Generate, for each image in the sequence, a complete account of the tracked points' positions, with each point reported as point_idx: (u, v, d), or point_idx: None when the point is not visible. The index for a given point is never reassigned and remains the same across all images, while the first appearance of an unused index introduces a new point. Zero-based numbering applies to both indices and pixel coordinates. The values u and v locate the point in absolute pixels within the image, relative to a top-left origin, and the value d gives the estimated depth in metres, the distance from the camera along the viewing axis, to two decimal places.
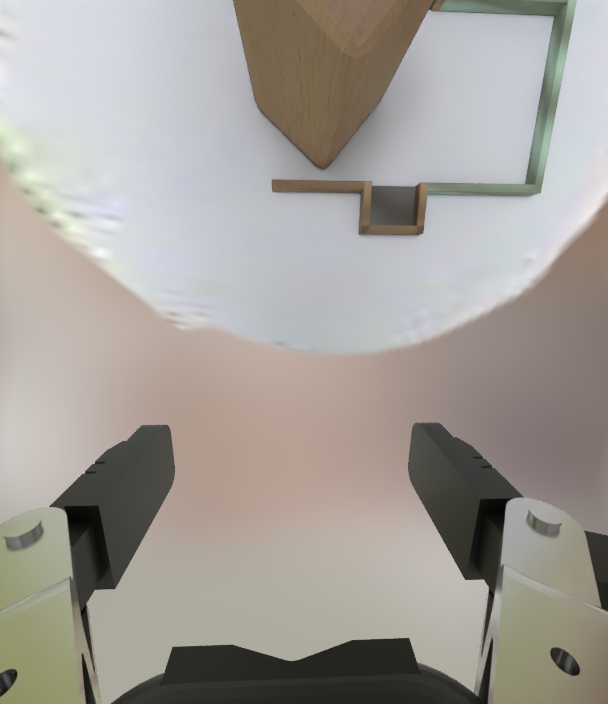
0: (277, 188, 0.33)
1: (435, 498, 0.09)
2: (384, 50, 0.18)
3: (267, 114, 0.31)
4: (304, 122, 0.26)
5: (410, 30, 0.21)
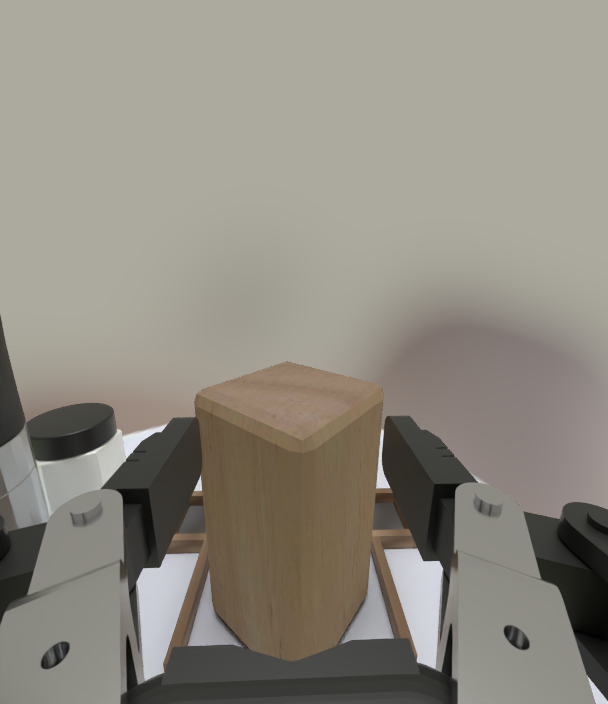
0: None
1: (401, 486, 0.09)
2: None
3: None
4: (359, 547, 0.23)
5: None
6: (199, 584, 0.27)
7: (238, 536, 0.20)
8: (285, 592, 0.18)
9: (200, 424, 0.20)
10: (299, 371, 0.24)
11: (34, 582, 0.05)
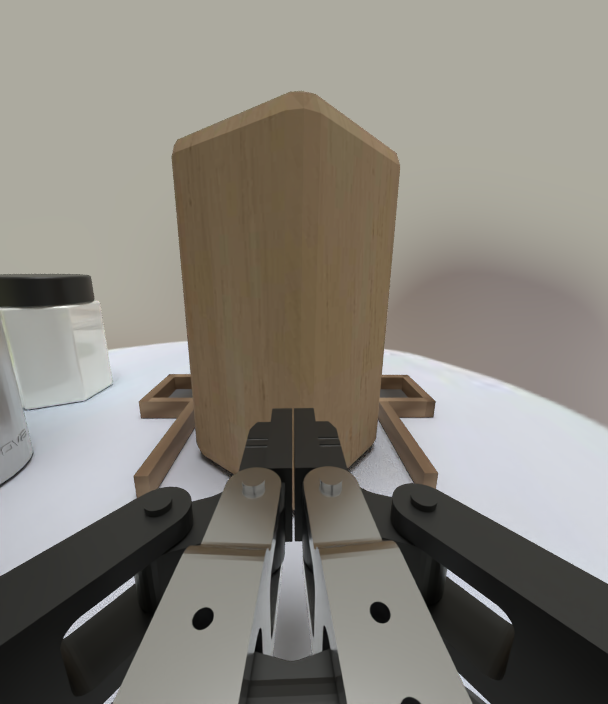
0: None
1: None
2: None
3: None
4: (369, 358, 0.20)
5: None
6: (182, 429, 0.23)
7: (223, 312, 0.17)
8: (280, 350, 0.15)
9: (178, 177, 0.17)
10: None
11: (207, 533, 0.05)
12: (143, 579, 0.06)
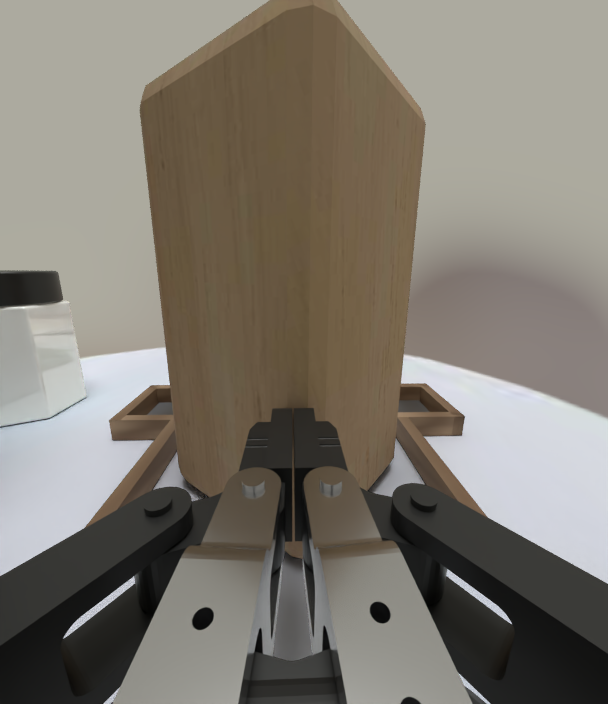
0: None
1: None
2: None
3: None
4: (389, 361, 0.16)
5: None
6: (157, 457, 0.18)
7: (207, 306, 0.13)
8: (281, 353, 0.11)
9: (147, 134, 0.13)
10: None
11: (207, 533, 0.05)
12: (143, 579, 0.06)
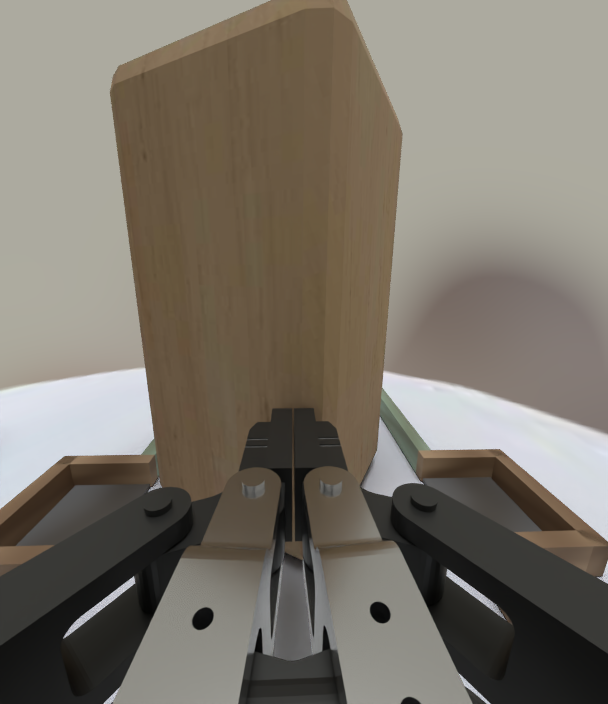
0: None
1: None
2: None
3: None
4: (376, 359, 0.17)
5: None
6: None
7: (202, 310, 0.12)
8: (294, 356, 0.11)
9: (123, 120, 0.12)
10: None
11: (207, 534, 0.05)
12: (142, 580, 0.06)
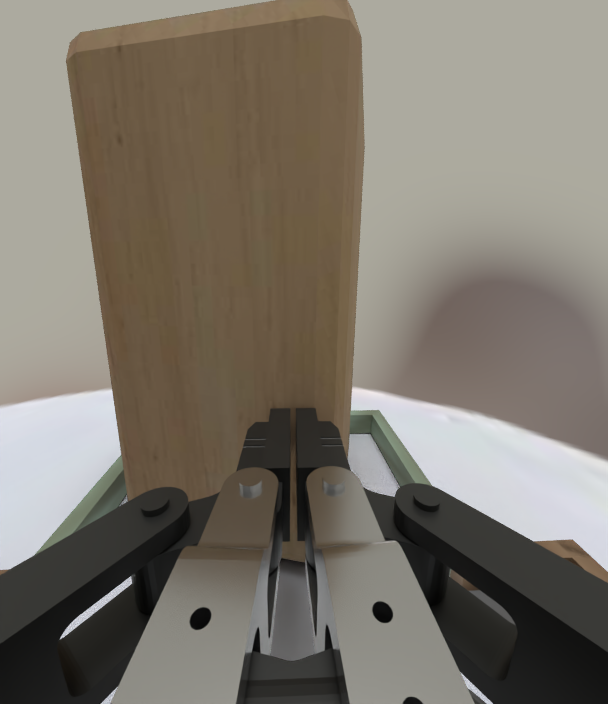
0: None
1: (296, 473, 0.09)
2: None
3: None
4: (352, 356, 0.17)
5: None
6: None
7: (195, 313, 0.11)
8: (307, 356, 0.11)
9: (89, 95, 0.10)
10: None
11: (204, 533, 0.05)
12: (139, 579, 0.06)
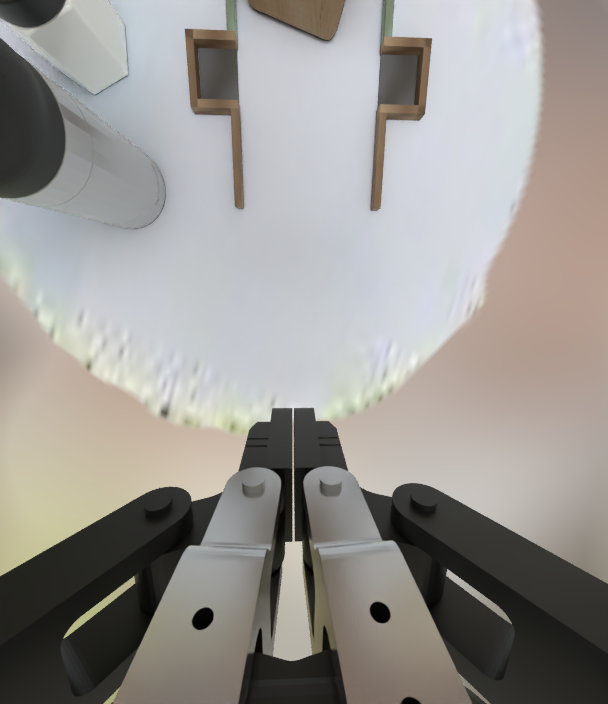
0: None
1: None
2: None
3: None
4: None
5: None
6: (239, 153, 0.36)
7: None
8: None
9: None
10: None
11: (207, 533, 0.05)
12: (143, 579, 0.06)
